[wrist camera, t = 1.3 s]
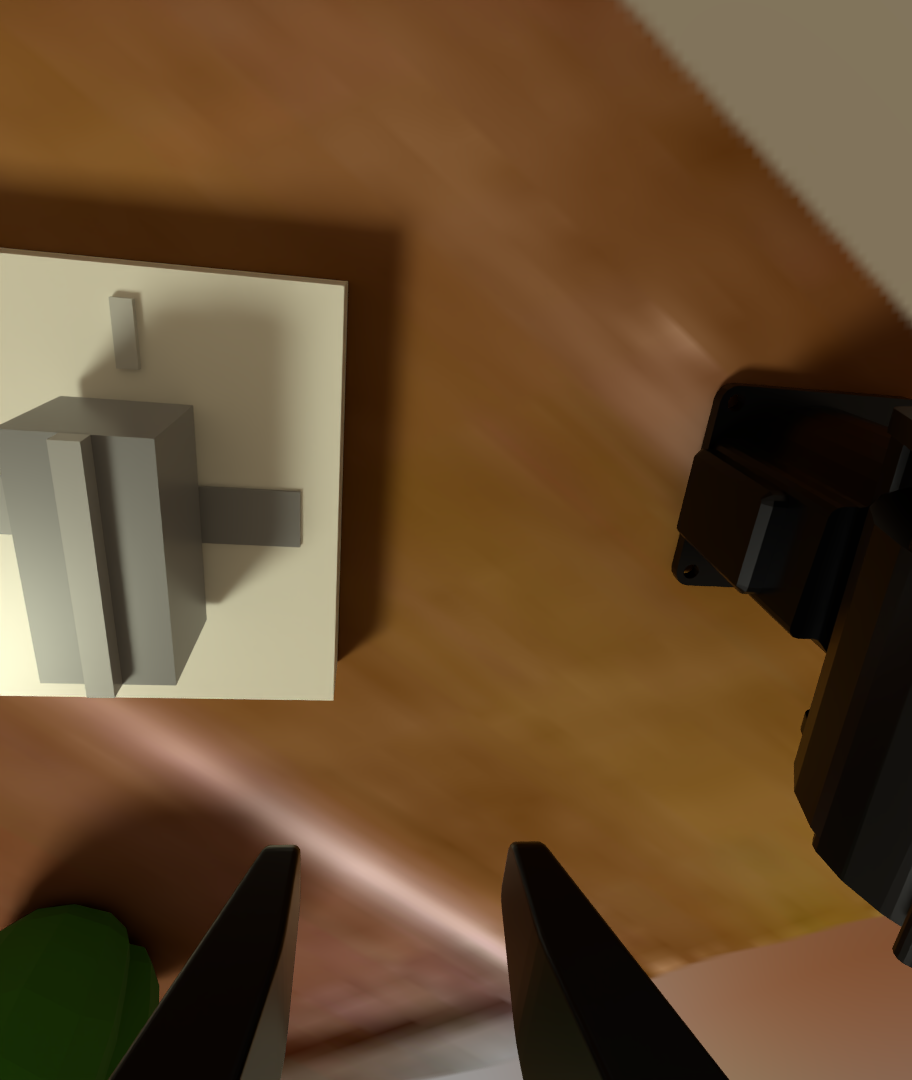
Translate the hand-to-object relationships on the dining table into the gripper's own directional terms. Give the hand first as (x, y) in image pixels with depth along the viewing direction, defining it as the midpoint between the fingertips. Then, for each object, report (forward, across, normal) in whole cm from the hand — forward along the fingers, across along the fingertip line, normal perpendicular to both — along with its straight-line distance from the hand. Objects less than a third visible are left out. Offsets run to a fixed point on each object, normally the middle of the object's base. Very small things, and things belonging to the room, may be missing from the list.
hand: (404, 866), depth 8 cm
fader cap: (+11, +7, 0) cm, 12 cm away
